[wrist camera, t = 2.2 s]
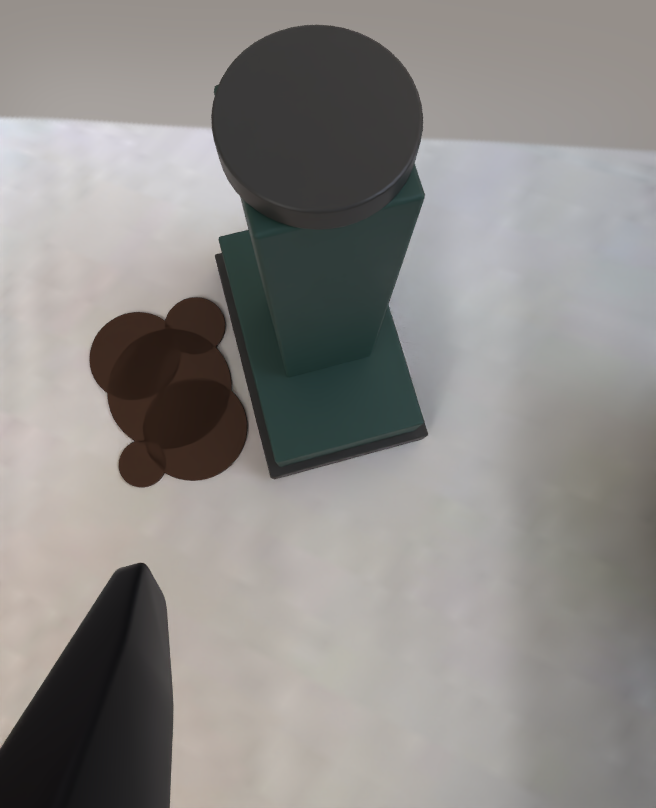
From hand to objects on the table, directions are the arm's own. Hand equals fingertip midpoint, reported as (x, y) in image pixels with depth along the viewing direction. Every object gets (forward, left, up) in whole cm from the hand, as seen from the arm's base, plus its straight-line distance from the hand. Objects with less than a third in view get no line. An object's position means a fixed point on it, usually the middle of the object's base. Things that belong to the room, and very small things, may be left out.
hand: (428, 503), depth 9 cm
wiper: (+4, +5, -12) cm, 14 cm away
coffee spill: (-1, +9, -12) cm, 15 cm away
